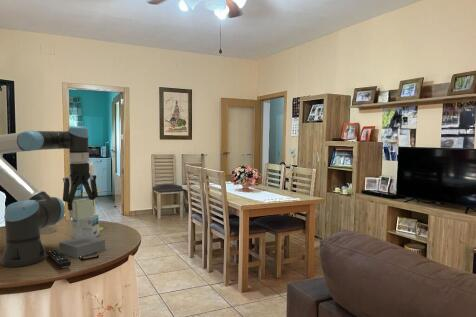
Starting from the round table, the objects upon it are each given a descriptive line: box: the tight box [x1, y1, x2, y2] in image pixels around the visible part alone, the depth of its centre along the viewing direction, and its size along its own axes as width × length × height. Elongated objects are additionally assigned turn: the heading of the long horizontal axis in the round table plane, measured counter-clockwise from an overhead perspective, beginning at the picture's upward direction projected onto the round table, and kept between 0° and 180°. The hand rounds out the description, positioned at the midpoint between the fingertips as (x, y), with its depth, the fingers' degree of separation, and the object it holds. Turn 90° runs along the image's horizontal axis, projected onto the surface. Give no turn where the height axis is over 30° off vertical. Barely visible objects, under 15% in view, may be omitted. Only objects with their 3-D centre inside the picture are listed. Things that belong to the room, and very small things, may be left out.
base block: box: [58, 235, 106, 259], centre depth 152 cm, size 13×13×5 cm
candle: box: [83, 160, 104, 232], centre depth 186 cm, size 10×10×38 cm
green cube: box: [68, 198, 94, 219], centre depth 151 cm, size 7×7×7 cm
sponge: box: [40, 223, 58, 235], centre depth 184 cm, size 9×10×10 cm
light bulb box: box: [71, 213, 100, 239], centre depth 175 cm, size 11×7×11 cm, turn 84°
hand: (81, 215), depth 151 cm, fingers closed on green cube, 7 cm apart
